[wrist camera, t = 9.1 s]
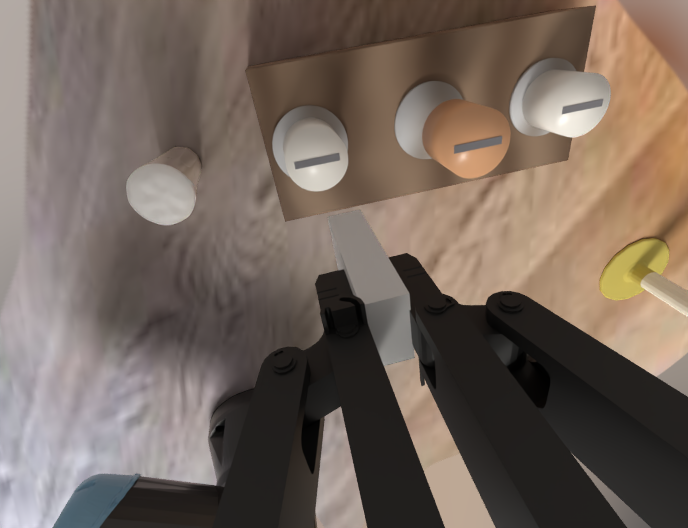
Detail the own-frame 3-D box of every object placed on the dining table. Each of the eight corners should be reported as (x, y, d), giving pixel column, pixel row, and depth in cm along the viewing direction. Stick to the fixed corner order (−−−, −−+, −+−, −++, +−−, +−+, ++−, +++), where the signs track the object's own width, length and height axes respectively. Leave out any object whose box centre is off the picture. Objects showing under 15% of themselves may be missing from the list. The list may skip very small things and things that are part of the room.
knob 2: (519, 131, 31) (550, 142, 28) (525, 74, 29) (560, 79, 26) (567, 121, 32) (603, 131, 28) (576, 65, 29) (617, 67, 26)
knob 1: (290, 179, 30) (293, 197, 26) (276, 123, 27) (278, 135, 24) (342, 168, 30) (352, 184, 27) (333, 112, 28) (343, 122, 24)
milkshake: (227, 169, 34) (214, 211, 26) (178, 196, 34) (150, 246, 26) (195, 124, 32) (170, 153, 23) (143, 154, 32) (100, 193, 24)
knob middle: (423, 167, 28) (445, 184, 24) (421, 105, 25) (445, 115, 22) (478, 155, 28) (507, 171, 25) (481, 93, 26) (514, 101, 22)
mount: (282, 200, 37) (285, 223, 32) (248, 66, 30) (245, 70, 26) (534, 147, 39) (570, 161, 34) (552, 10, 32) (599, 5, 28)
